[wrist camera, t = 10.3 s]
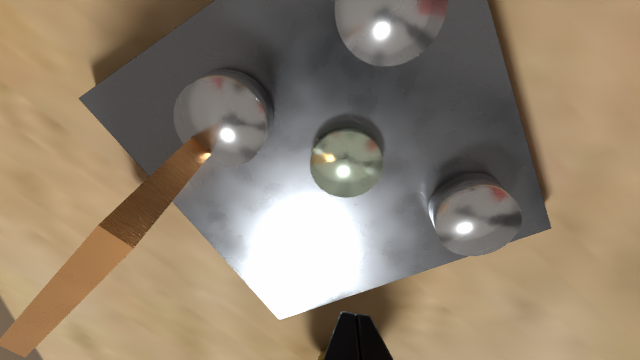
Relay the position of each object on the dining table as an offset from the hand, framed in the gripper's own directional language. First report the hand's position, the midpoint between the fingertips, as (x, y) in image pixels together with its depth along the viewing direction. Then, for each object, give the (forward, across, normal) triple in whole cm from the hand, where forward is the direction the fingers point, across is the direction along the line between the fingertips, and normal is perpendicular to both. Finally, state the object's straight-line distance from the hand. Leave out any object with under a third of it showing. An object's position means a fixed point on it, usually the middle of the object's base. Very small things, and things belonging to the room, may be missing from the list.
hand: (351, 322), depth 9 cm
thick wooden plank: (+10, +9, +1) cm, 14 cm away
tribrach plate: (+12, +1, +1) cm, 12 cm away
